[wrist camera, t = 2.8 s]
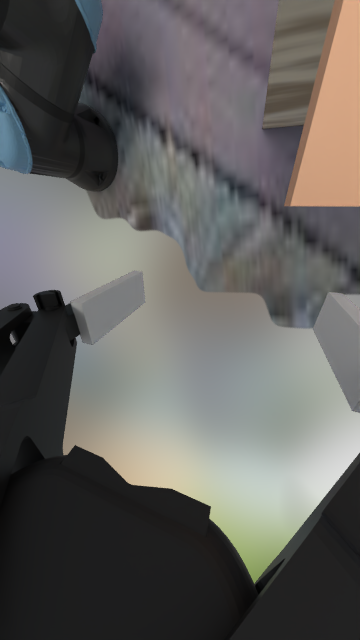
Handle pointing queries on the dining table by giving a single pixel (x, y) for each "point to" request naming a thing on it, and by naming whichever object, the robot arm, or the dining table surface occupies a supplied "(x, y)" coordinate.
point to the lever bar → (332, 120)
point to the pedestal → (295, 60)
